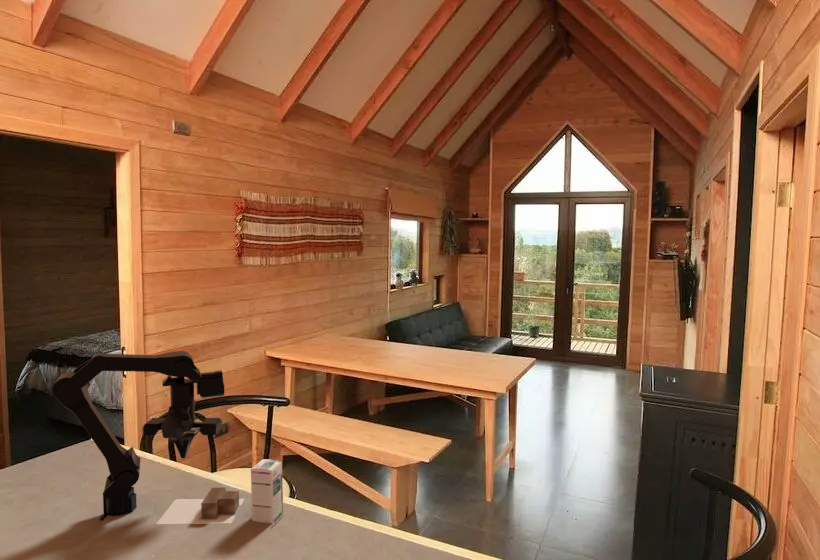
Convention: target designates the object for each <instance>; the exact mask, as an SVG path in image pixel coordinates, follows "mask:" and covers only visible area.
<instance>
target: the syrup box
mask: <svg viewBox="0 0 820 560" xmlns="http://www.w3.org/2000/svg"><path fill="white" fill-rule="evenodd" d="M283 490H284V489H283V461H281V460H278V459H261V460H260V461H259V462H257V464H255V465H254V466H253V467H252V468H251V469H250V491H251V492H250V493H251V521H252V522H258V523H265V524H271V528H273V527H275V525H276V524H277V523H278V522H279V520H280V519H281V518H282V517H283V516H284V499H283V498H284V495H283V494H284V493H283V492H284V491H283Z"/></svg>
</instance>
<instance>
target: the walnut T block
mask: <svg viewBox="0 0 820 560" xmlns="http://www.w3.org/2000/svg"><path fill="white" fill-rule="evenodd" d="M203 499H204V500H203V502H202V503H201V512H202V519H216V518H217V516H218V515H219V514H235V513H236V511H237V509H238V507H239V499H240V490H230V491H229V490H227V489H226V487H211V489H210V490H209V491H208V493H207V495H205V497H204V498H203Z"/></svg>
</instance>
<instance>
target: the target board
mask: <svg viewBox="0 0 820 560" xmlns="http://www.w3.org/2000/svg"><path fill="white" fill-rule="evenodd" d="M204 499H205V498H197V499H195V498H191V499H189V498H188V499H186V498H185V499H183V498H182V499H180V498H179V499H177V498H176V499H174V500H173V502H172V503H171V504H170V506H169V507H168V508H167V509H166V510H165V512H164V514H162V516H161V517H160V518H159V519H158V521H157V522H156V523H155V525H197V524H198V525H200V524H201V525H203V524H204V525H205V524H207V525H211V524H213V525H215V524H217V525H218V524H220V525H221V524H232V523H233V522H234V520H235V518H236V515H237V514H238V512H239V509H240V508H241V507H242V504H243V503H244V500H245V498H239V507H238V509H237V511H236V513H235V514H219V515H218V516H217V518H216V519H202V512H201V503H202V502H203V500H204Z"/></svg>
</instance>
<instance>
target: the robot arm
mask: <svg viewBox="0 0 820 560" xmlns="http://www.w3.org/2000/svg"><path fill="white" fill-rule="evenodd" d="M102 372H145V373H146V372H147V373H148V372H151V373H152V372H153V373H159V374H161V375H166V376H167V377H165V378H164V379H163V380H162V381H161V382H162V383H161V385H162V387H169V388H170V389H169V390H170V391H169V392H170V406H169V407H168V412H167V415H166V417H151V419H149V420H148V421H147V422H145V423H144V424H143V425H142V436H156V435H157V433H158V432H159V431H161V433H162V438H164V439H170V440H171V441H172V442H173V443H174V445H175V447H176V449H177V451H178V453H179V456H180V458H181V459H185V458H186V457H187V456H188V453H189V450H190V447H191V444H192V443H193V439H194V438H195V437H196V436H198V434H199V433H200V434H201V435H203V436H216V435H217V434H218V433H219V432H220V430H221V429H222V428H223V421H222V419H221V418H220V417H206V418H205V419H204V420H203V421H199V422H198V421H196V420H197V414H196V413H195V405H197V400H195V384H196V395H197V396H199V398H200V397H201V399H207V398H217V397H224V396H225V384H224V377H223V374H224V373H223V371H222V370H215V371H209V372H201V370H200V369H199V367H197V366H196V365H195V363H194V358H193V356H192V355H191V354H190V353H189V352H187V351H184V350H179V351H178V350H177V351H170V352H165V353H161V354H127V353H126V354H125V353H105V352H97V353H95V354H94V355H92V357H91V358H90V359H88V360H87V361H85V362H84V363H82V364H81V365H79V366H78V367H77V368H75V369H74V370H73V371H67V372H63V373H62V374H61V375H60V376H59V377H58V378H57V379H56V381H55V382H54V383H53V385H52V388H51V394H52V396H53V398H55V400H57V402H59V403H60V405H62V406H63V407H64V408H65V409H66V410H69V412H71V413H73V414H74V415H75V416H76V418H77V419H78V421H79V422H80V424H81V425H82V427H83V428H84V430H85V431H86V432H87V434H88V435H89V437H90V438H91V439H92V441H93V442H94V444H95V445H96V447H97V449H98V450H99V451H100V453H101V454H102V456H103V457H104V459H105V461H106V464H107V468H108V471H109V475H108V476H107V477H106V480H105V484H104V489H103V492H102V506H103V507H102V509H103V511H102V512H103V514H102V515H101V516H100V517H99V519H100V521H104V520H105V519H106V518H107V517H108V516H110V517H118V516H122V515H125V514H131V513H133V512H134V511H135V510H136V508H137V493H135V486H134V485H136V484H137V482H138V481H139V479H140V474H141V473H140V471H141V470H140V469H141V457H140V456H139V455H138V454H137V453H136V451H135V449H134V447H133V446H131V447H130V448H129V449H126V448H125V447H124V446H123V445H121V444H120V442H119V441H118V439H117V437H116V436H115V435H114V433H113V432H112V430H111V429H110V427H109V426H108V424H107V423H106V421H105V419H104V418H103V417H102V415H101V414H100V412H99V411H98V410H97V408H96V406H95V405H94V404H93V402H92V399H91V396H90V391H89V389H88V387H87V384H89V383H90V382H91V381H92V380H93V379H95V377H97V376H99V374H101V373H102ZM195 414H196V415H195Z"/></svg>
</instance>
